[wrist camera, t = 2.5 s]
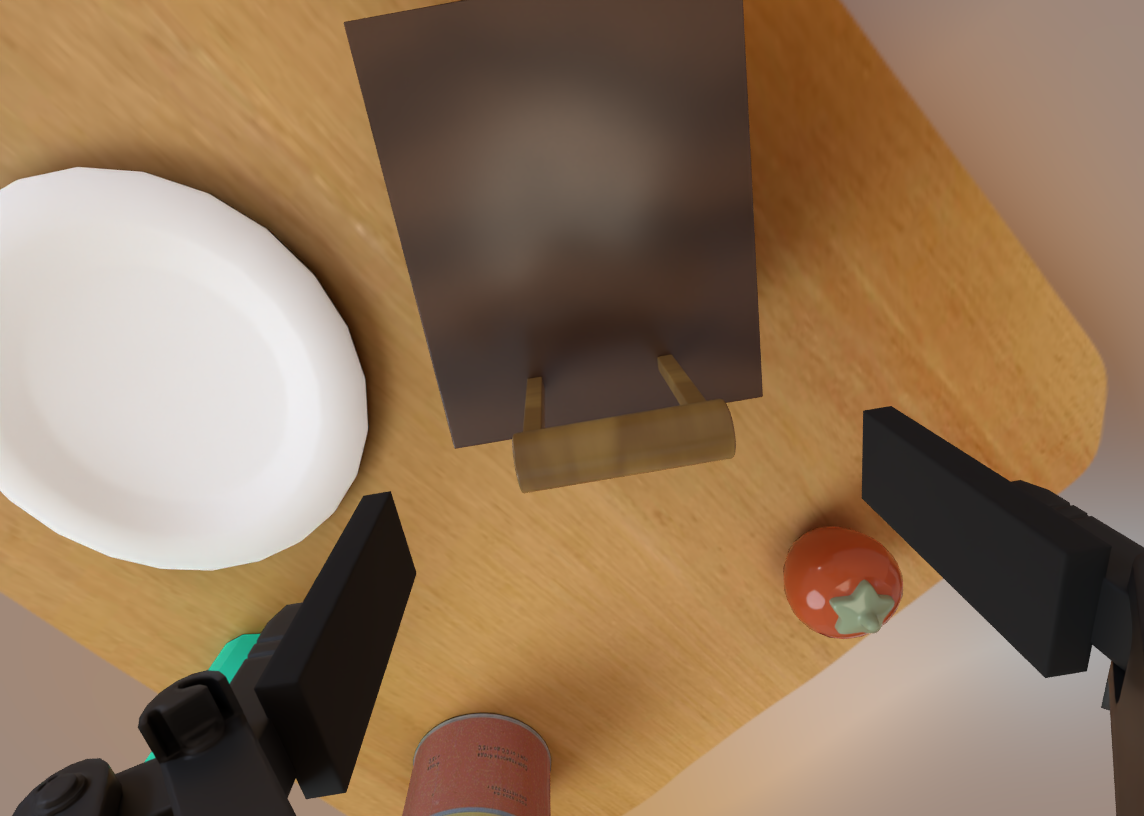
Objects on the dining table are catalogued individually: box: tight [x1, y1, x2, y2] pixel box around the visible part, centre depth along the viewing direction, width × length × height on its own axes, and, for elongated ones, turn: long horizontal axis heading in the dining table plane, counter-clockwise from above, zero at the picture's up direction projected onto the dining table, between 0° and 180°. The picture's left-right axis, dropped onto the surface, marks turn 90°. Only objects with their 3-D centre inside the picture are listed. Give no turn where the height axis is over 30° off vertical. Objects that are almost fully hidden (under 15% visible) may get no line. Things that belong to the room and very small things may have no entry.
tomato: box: [783, 526, 903, 639], centre depth 39 cm, size 7×7×8 cm
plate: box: [0, 167, 369, 570], centre depth 35 cm, size 25×25×2 cm
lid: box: [344, 0, 763, 493], centre depth 21 cm, size 18×15×10 cm
